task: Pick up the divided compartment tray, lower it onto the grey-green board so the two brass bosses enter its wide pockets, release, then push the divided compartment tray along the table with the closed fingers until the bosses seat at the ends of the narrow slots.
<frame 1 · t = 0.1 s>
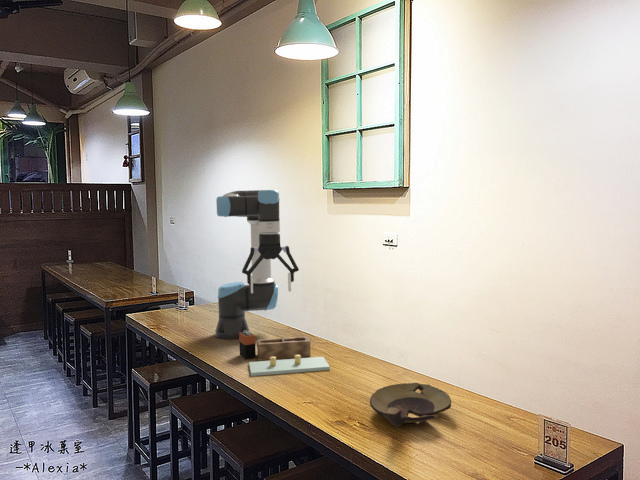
hand: (271, 291, 192), 28 cm above the table, fingers open, 13 cm apart
battery: (247, 357, 208), on the table
divided compartment tray: (283, 355, 209), on the table
board: (288, 367, 194), on the table
broken dish: (403, 418, 150), on the table
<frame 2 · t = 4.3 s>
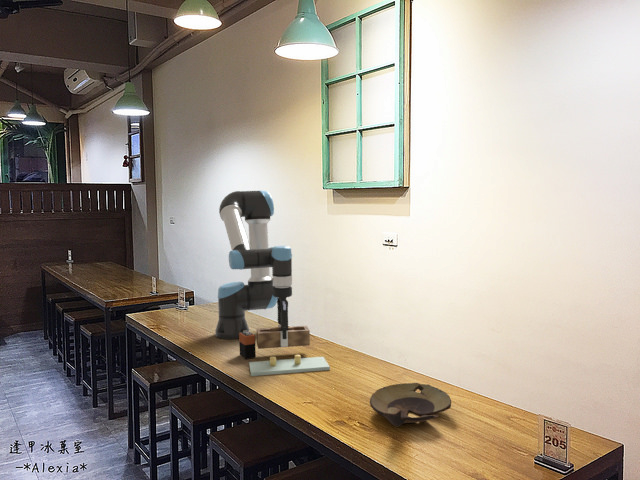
hand: (283, 343, 209), 5 cm above the table, fingers closed on divided compartment tray, 7 cm apart
divided compartment tray: (283, 344, 209), point 4 cm above the table, touching gripper
everything else where it was.
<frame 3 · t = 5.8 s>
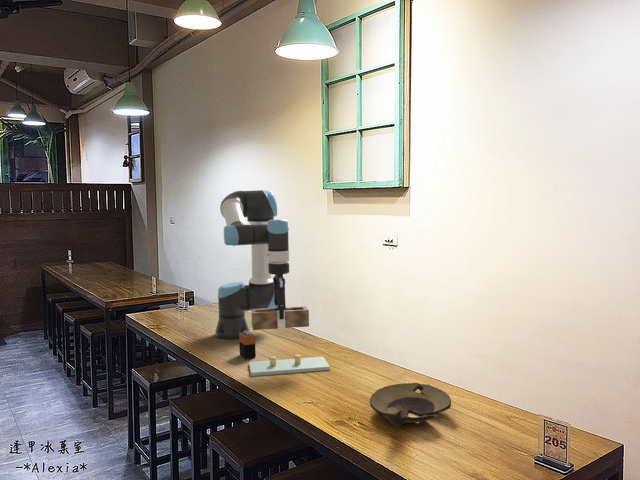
hand: (280, 325, 193), 16 cm above the table, fingers closed on divided compartment tray, 7 cm apart
divided compartment tray: (280, 326, 193), point 15 cm above the table, touching gripper
everything else where it was.
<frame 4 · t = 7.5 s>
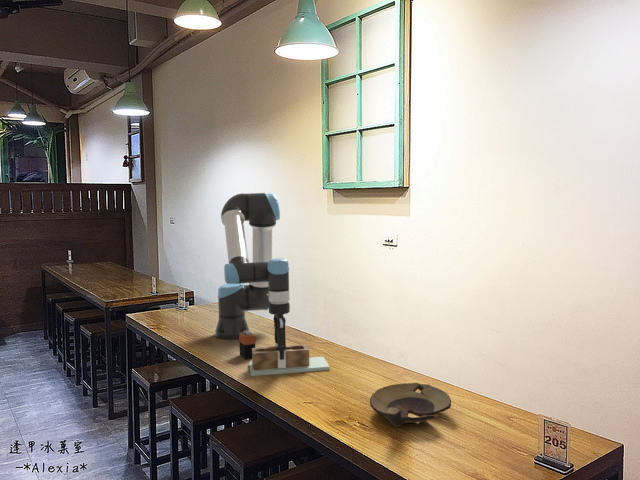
hand: (280, 364, 193), 1 cm above the table, fingers closed on divided compartment tray, 7 cm apart
divided compartment tray: (280, 365, 193), point 1 cm above the table, touching board, gripper
everything else where it was.
when the fingers open (2 cm above the table, at t = 7.9 s): divided compartment tray stays where it is, resting on board.
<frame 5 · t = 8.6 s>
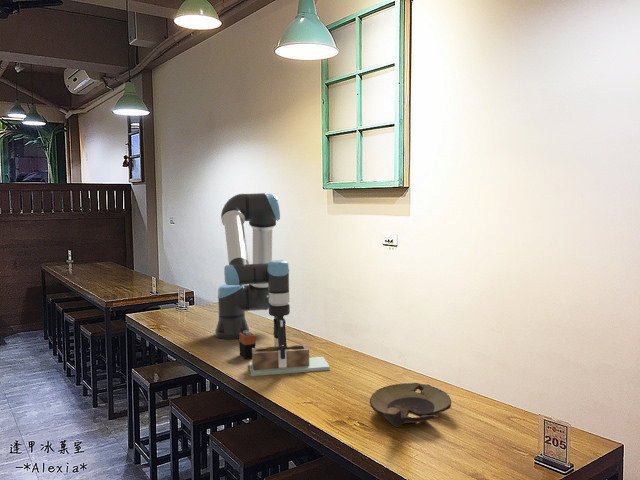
hand: (280, 361, 193), 3 cm above the table, fingers open, 13 cm apart
divided compartment tray: (280, 365, 193), point 1 cm above the table, touching board
everything else where it was.
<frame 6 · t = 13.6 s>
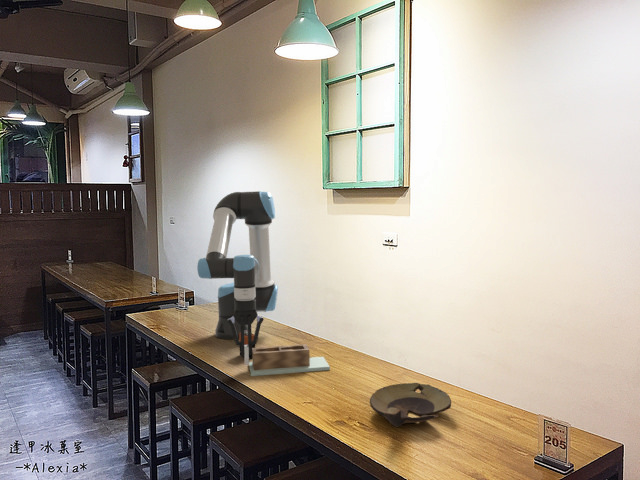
hand: (246, 363, 191), 3 cm above the table, fingers closed
divided compartment tray: (280, 365, 193), point 1 cm above the table, touching board, gripper
everything else where it was.
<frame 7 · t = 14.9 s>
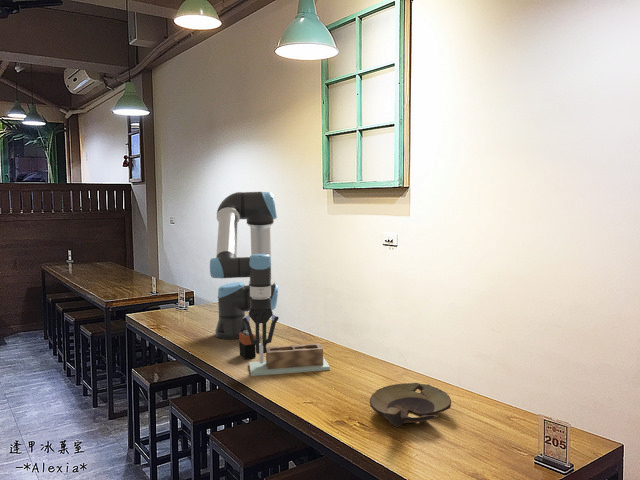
hand: (261, 362, 192), 3 cm above the table, fingers closed
divided compartment tray: (294, 364, 194), point 1 cm above the table, touching board, gripper
everything else where it was.
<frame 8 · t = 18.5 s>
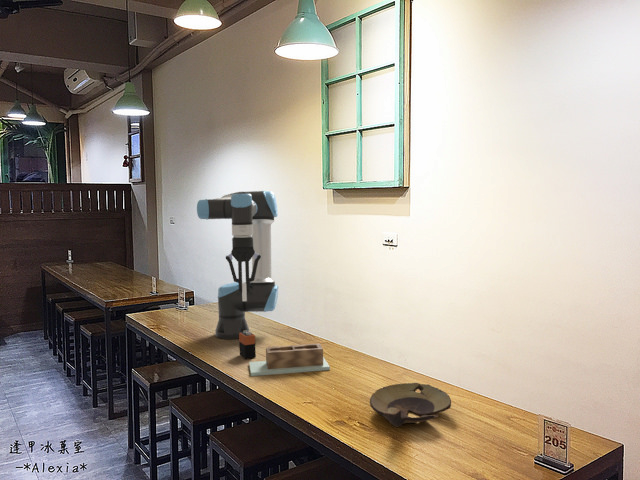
hand: (244, 300, 195), 24 cm above the table, fingers closed
divided compartment tray: (294, 364, 194), point 1 cm above the table, touching board
everything else where it was.
at the end: divided compartment tray 0.3 cm from the target spot on the board, point 1.2 cm above the board's base; divided compartment tray tilted 0°; divided compartment tray touching board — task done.
